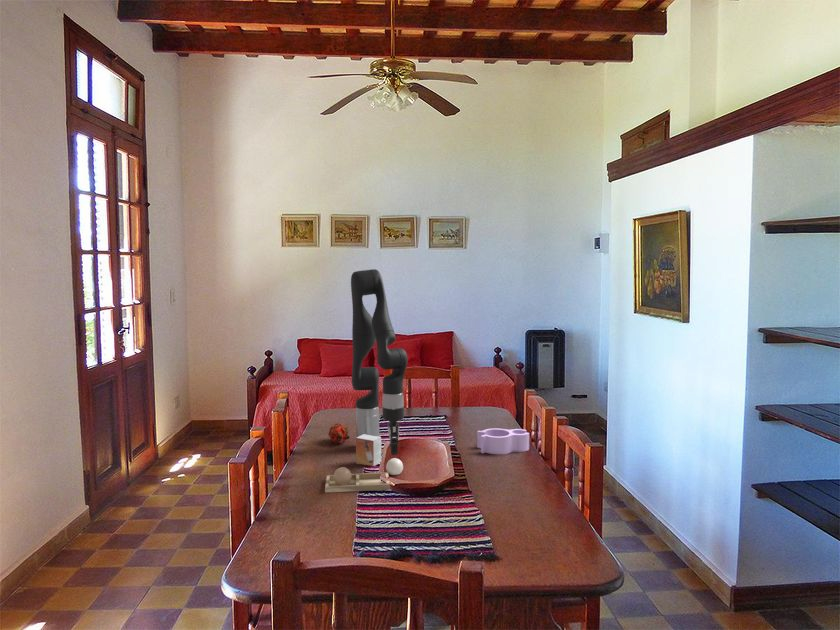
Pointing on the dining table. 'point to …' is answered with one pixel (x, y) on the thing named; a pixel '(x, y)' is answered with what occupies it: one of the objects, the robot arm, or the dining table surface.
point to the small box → (368, 450)
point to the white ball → (394, 466)
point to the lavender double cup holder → (502, 441)
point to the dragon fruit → (338, 433)
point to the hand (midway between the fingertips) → (393, 450)
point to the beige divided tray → (358, 483)
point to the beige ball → (342, 476)
